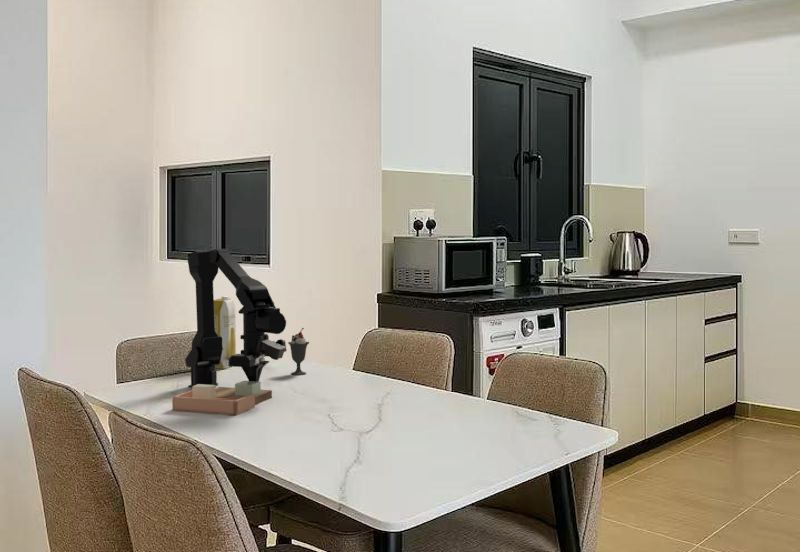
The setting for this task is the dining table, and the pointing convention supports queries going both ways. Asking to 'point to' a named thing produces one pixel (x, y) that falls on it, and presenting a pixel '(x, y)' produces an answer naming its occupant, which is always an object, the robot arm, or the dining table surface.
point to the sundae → (298, 351)
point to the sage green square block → (247, 388)
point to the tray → (212, 404)
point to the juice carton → (225, 328)
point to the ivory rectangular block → (204, 391)
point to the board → (230, 393)
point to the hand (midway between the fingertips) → (254, 387)
